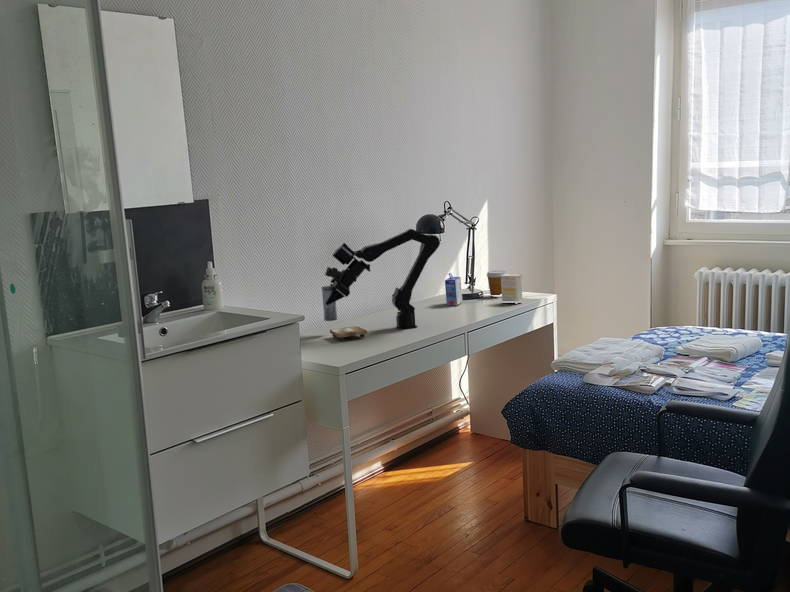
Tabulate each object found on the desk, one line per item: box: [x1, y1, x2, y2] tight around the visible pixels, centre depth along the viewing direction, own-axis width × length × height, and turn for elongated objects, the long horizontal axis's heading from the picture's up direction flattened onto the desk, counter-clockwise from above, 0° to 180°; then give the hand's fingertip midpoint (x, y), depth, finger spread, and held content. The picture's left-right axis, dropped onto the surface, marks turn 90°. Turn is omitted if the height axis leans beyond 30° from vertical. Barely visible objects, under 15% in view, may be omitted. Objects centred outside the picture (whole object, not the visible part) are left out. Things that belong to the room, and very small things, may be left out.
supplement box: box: [501, 273, 523, 301], centre depth 340 cm, size 8×5×13 cm, turn 49°
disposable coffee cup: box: [486, 270, 507, 296], centre depth 361 cm, size 10×10×12 cm
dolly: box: [329, 325, 368, 342], centre depth 286 cm, size 11×11×3 cm
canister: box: [321, 285, 338, 322], centre depth 294 cm, size 5×5×13 cm
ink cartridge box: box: [444, 272, 463, 306], centre depth 347 cm, size 10×6×14 cm, turn 161°
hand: (325, 303), depth 293 cm, fingers closed on canister, 5 cm apart
